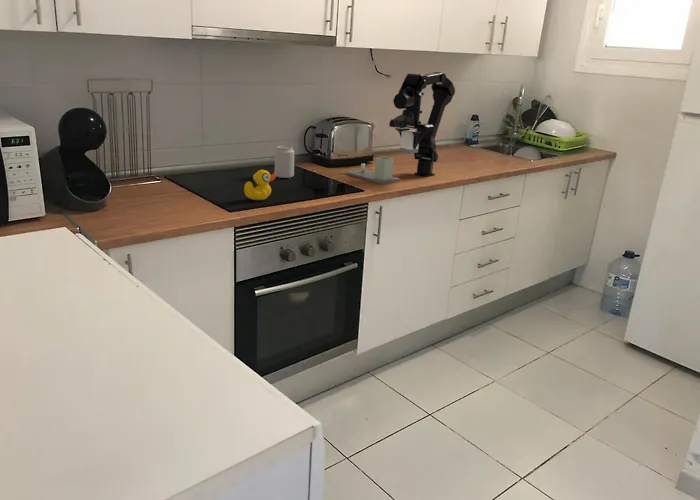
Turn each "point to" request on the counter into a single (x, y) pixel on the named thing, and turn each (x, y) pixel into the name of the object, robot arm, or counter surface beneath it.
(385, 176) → the pin board
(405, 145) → the sleeve
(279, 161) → the can
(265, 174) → the duckling
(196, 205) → the counter surface
